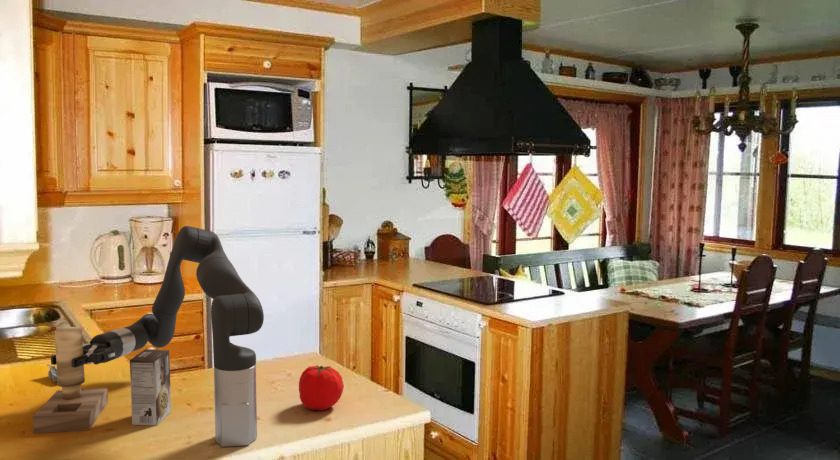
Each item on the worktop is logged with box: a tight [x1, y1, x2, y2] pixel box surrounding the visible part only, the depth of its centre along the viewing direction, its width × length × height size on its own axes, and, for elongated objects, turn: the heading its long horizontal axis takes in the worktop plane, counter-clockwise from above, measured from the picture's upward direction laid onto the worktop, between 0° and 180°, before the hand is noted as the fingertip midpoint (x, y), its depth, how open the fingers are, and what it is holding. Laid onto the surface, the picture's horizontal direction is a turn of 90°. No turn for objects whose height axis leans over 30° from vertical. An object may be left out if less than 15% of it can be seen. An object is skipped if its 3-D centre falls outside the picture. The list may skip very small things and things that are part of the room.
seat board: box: [32, 387, 109, 434], centre depth 171 cm, size 18×12×4 cm, turn 11°
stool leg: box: [54, 326, 86, 400], centre depth 173 cm, size 6×6×17 cm
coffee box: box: [129, 348, 172, 427], centre depth 170 cm, size 9×6×16 cm
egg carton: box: [46, 363, 58, 383], centre depth 200 cm, size 11×8×4 cm
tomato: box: [298, 364, 344, 411], centre depth 179 cm, size 12×12×11 cm
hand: (62, 362), depth 171 cm, fingers closed on stool leg, 6 cm apart
